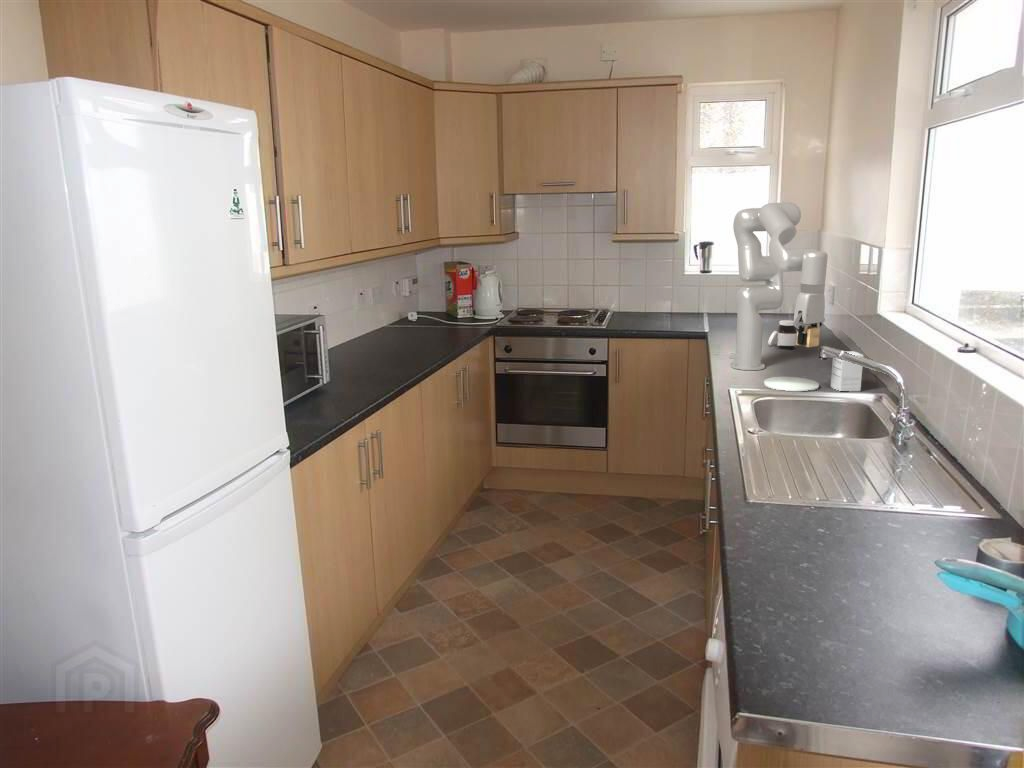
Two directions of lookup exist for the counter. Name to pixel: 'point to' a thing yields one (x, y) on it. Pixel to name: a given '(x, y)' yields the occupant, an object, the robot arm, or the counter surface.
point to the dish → (791, 384)
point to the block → (811, 336)
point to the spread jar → (784, 335)
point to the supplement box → (846, 374)
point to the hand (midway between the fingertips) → (807, 343)
